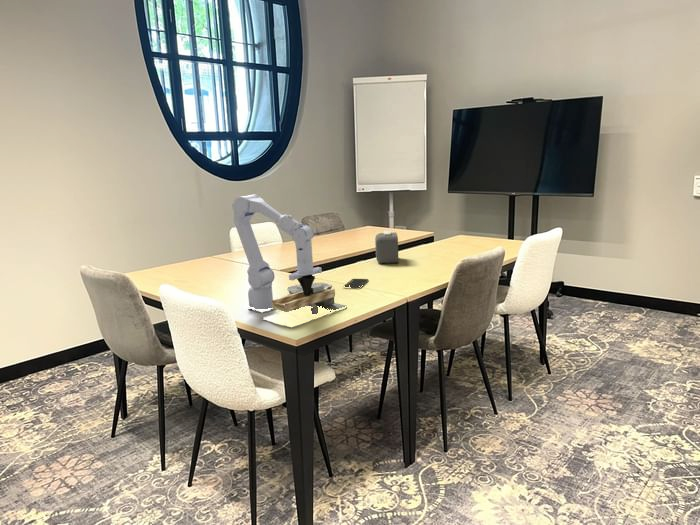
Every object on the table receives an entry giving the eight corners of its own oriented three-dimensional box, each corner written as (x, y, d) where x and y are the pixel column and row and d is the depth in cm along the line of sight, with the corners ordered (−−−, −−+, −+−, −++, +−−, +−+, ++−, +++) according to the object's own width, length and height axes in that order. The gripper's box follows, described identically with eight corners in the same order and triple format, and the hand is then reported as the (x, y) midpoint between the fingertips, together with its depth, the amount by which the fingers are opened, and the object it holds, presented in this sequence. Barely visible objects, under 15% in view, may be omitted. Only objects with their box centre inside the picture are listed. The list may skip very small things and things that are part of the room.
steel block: (313, 298, 193) (313, 288, 192) (305, 296, 197) (304, 285, 196) (324, 295, 197) (323, 285, 196) (315, 293, 200) (315, 283, 199)
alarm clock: (398, 264, 271) (397, 234, 268) (376, 265, 272) (375, 235, 268) (396, 257, 287) (395, 229, 284) (375, 258, 288) (374, 230, 284)
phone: (342, 286, 228) (352, 278, 242) (342, 289, 228) (352, 280, 242) (360, 287, 225) (369, 278, 239) (360, 290, 226) (369, 281, 240)
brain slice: (309, 287, 235) (309, 280, 234) (338, 291, 224) (337, 285, 223) (277, 297, 220) (276, 290, 219) (306, 303, 209) (305, 295, 209)
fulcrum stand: (291, 328, 179) (290, 319, 178) (261, 320, 190) (261, 311, 189) (346, 308, 199) (346, 299, 198) (317, 301, 210) (317, 293, 209)
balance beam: (291, 321, 181) (290, 304, 180) (269, 315, 189) (268, 299, 188) (339, 304, 199) (338, 289, 197) (317, 300, 206) (316, 285, 205)
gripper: (297, 264, 183) (299, 301, 186) (326, 256, 194) (328, 292, 196) (284, 262, 188) (286, 298, 191) (313, 255, 198) (315, 289, 201)
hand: (307, 295), depth 194 cm, fingers closed
